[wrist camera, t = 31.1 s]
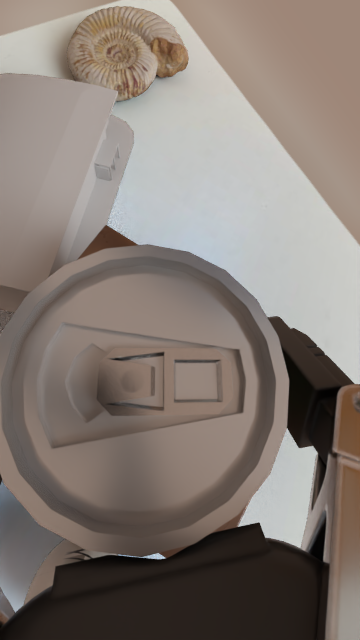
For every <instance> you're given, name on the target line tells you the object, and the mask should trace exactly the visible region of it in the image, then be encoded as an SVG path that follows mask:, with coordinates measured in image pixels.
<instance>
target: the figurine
mask: <svg viewBox="0 0 360 640" xmlns="http://www.w3.org/2000/svg"><path fill="white" fill-rule="evenodd" d="M105 555H117V556H118V554H112V553H104V552H95V551H87V550H85V549H84V548H82V547H80V546H78V545H76V544H74V543H72V542H70V541H69V540H67V539H65V540H64V541H62V542H61V543H59V544H58V545H57V546H56V547H55V548H54V549H53V550H52V551H51V552H50V553H49V555H48V556H47V557H46V559H45V560H44V561H43V563H42V564H41V566H40V567H39V569H38V571H37V573H36V575H35V577H34V578H33V581H32V583H31V585H30V587H29V590H28V593H27V595H26V598H25V602H24V605H25V604H26V603H27V602H28V601H30V600H31V599H32V598H33V597H35V596H36V595H38V594H39V593H41V592H42V591H43V590H45V589H46V588H48V587H50V586H52V585H53V579H54V572H55V566H59V565H64V564H68V563H73V562H78V561H82V560H87V559H92V558H96V557H101V556H105ZM24 605H23V606H24Z"/></svg>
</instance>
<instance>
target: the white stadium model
mask: <svg viewBox="0 0 360 640" xmlns="http://www.w3.org/2000/svg"><path fill="white" fill-rule="evenodd" d="M117 95H118V91H116V90H112V89H108V88H105V87H101V86H97V85H93V84H88V83H83V82H77V81H72V80H67V79H61V78H54V77H47V76H40V75H30V74H12V73H6V74H0V310H4V311H8V312H13V313H15V311H16V310H17V309H18V307H19V306H20V304H21V303H22V301H23V300H24V299H25V297H26V296H27V294H28V293H29V292H31V291H32V290H33V289H35V288H36V287H37V286H38V285H40V284H41V283H42V282H43V281H45V280H46V279H47V278H48V277H50V276H51V275H52V274H54V273H55V272H56V271H57V270H59V269H60V268H61V267H62V266H64V265H66V264H68V263H71V262H73V261H76V260H77V259H78V258H79V257H80V255H81V254H82V253H83V252H84V250H85V249H86V248H87V247H88V246H89V244H90V243H91V242H92V241H93V239H94V238H95V237H96V236H97V235H98V233H99V232H100V231H101V230H102V228H103V227H104V226H105V225H107V222H108V219H109V216H110V213H111V210H112V207H113V204H114V201H115V198H116V195H117V192H118V189H119V186H120V183H121V180H122V177H123V174H124V171H125V168H126V165H127V162H128V159H129V156H130V153H131V150H132V147H133V144H134V133H133V130H132V129H131V128H130V126H129V125H128V124H127V123H126V121H124V120H122V119H120V118H118V117H115V116H113V115H111V111H112V108H113V106H114V103H115V100H116V98H117Z"/></svg>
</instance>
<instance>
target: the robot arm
mask: <svg viewBox="0 0 360 640" xmlns="http://www.w3.org/2000/svg"><path fill="white" fill-rule="evenodd" d="M267 318H268V320H269V321H270V323H271V325H272V326H273V328H274V330H275V332H276V333H277V335H278V337H279V341H280V345H281V349H282V353H283V357H284V361H285V365H286V369H287V373H288V377H289V396H288V417H287V428H288V430H289V432H290V434H291V435H292V437H293V439H294V440H295V442H296V444H297V445H298V447H299V448H303V447H308V446H314V448H315V449H316V451H317V452H318V453H317V456H316V459H315V466H314V473H313V481H312V488H311V495H310V502H309V510H308V517H307V522H306V527H305V530H304V534H303V539H302V544H301V549H300V548H298V547H296V546H294V545H291V544H289V543H286V542H284V541H280V540H275V539H271V538H265V537H264V534H263V531H262V528H261V526H260V523H255V524H250V525H245V526H241V527H236V528H231V529H227V530H222V531H217V532H213V533H211V534H209V535H207V536H206V537H204V538H202V539H201V540H199V541H198V542H196V543H195V544H192V545H190V546H188V547H186V548H184V549H182V550H181V551H179V552H177V553H175V554H174V555H172V556H170V557H168V558H166V559H148V558H138V557H127V556H117V555H105V556H101V557H96V558H92V559H87V560H82V561H78V562H73V563H68V564H64V565H59V566H55V572H54V579H53V585H52V586H50V587H48V588H46V589H45V590H43V591H42V592H41V593H39V594H38V595H36V596H35V597H33V598H32V599H31V600H30V601H28V602H27V603H26V604H25V605H24V606H22V607H21V608H20V609H19V610H18V611H17V612H16V613H15V612H14V610H13V608H12V606H11V604H10V603H9V601H8V599H7V598H6V596H5V595H4V593H3V591H2V589H1V588H0V640H360V384H354V383H353V382H352V381H351V380H350V379H349V378H348V377H347V376H346V374H345V373H344V372H343V371H342V370H341V369H340V368H339V367H338V366H337V365H336V364H335V363H334V362H333V361H332V360H331V359H330V358H329V357H328V356H327V355H325V353H324V352H323V351H322V350H321V349H320V348H319V347H317V345H316V344H315V343H314V342H313V341H312V340H311V339H310V338H309V337H308V336H307V335H306V334H304V333H302V332H300V331H298V330H296V329H295V328H292V329H290V328H289V327H288V326H287V325H286V324H285V322H284V321H283V320H282V319H281V318H280V317H278V316H274V317H267ZM1 481H2V477H1V474H0V484H1Z"/></svg>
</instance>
